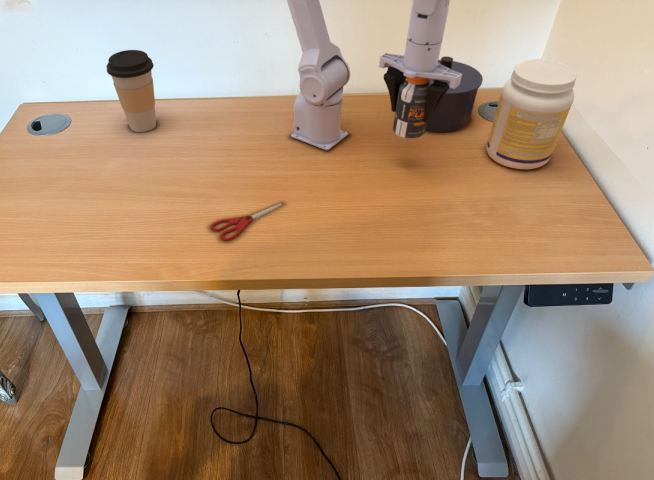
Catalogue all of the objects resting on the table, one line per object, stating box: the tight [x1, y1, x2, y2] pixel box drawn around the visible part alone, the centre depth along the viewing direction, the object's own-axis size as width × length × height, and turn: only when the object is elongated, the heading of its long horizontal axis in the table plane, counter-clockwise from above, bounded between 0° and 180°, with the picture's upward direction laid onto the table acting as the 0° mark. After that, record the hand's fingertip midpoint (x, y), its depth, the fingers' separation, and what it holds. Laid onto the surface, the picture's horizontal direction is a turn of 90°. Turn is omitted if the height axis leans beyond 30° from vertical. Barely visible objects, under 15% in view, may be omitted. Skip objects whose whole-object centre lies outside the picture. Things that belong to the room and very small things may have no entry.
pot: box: [425, 88, 479, 134], centre depth 115 cm, size 15×15×8 cm
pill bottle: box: [392, 77, 431, 140], centre depth 96 cm, size 6×6×11 cm
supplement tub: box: [485, 58, 578, 170], centre depth 100 cm, size 12×12×17 cm
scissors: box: [210, 203, 282, 242], centre depth 94 cm, size 5×14×1 cm, turn 126°
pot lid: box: [429, 56, 484, 95], centre depth 110 cm, size 16×16×5 cm
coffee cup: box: [106, 49, 157, 133], centre depth 113 cm, size 9×9×15 cm
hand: (411, 114), depth 98 cm, fingers closed on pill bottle, 6 cm apart
